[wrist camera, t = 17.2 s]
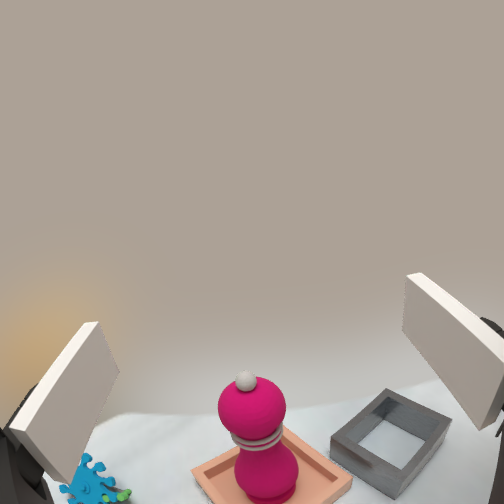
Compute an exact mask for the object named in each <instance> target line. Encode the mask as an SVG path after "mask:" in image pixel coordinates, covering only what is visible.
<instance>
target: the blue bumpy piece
mask: <svg viewBox="0 0 504 504" xmlns="http://www.w3.org/2000/svg"><path fill="white" fill-rule="evenodd" d="M91 461H92V457H91V456H90V455H89V454H87V453H83V455H82V457H81V464H80V466H78V467H77V470H76V472H75V475H74V477H73V480H72V482H71V485H70V484H68V486H69V488H70V489H69V488H68V487H67V486H66V485H64V484H63V485H59V489H60V492H61V493H70V494H73V495H74V496H75V497H76V499H74V498H71V499H68V500H67V501H68V503H69V504H78V503H79V502H83V503H84V504H101V502H102V503H103V504H110V503H109V501H111V502H116V501H124V500H126V499H128V497H129V496H128V494H130V493H131V490H130V489H127V490H124V491H123V490H120V489H118V488H115V487H112V486H115V485H116V482H115V479H114V477H108V478H104V477H103V478H102V477H99V476H98V475H97V473H96V471H98V472H102V471H105V470H106V467H105V465H104V464H103V463H102V462H98V463H96V464H95V466H94V467H93V468H92V469H89V468H88V467H87V462H91Z"/></svg>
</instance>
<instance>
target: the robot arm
mask: <svg viewBox="0 0 504 504" xmlns="http://www.w3.org/2000/svg"><path fill="white" fill-rule="evenodd" d="M402 331H403V332H404V334H405V335H406V336H407V337H408V339H409V340H410V341H411V342H412V344H413V345H414V346H415V347H416V349H417V350H418V351H419V352H420V354H421V355H422V356H423V357H424V359H425V360H426V361H427V362H428V364H429V365H430V366H431V367H432V369H433V370H434V371H435V373H436V374H437V375H438V376H439V378H440V379H441V380H442V382H443V383H444V384H445V385H446V387H447V388H448V389H449V391H450V392H451V393H452V395H453V396H454V397H455V399H456V400H457V401H458V403H459V404H460V405H461V407H462V408H463V410H464V411H465V412H466V414H467V415H468V416H469V418H470V419H471V421H472V422H473V423H474V425H475V426H476V428H477V429H478V430H481V429H483V428H485V427H487V426H488V425H490V424H492V423H494V422H495V421H496V419H497V417H498V415H499V413H500V411H501V409H502V410H503V411H504V331H503V330H502V328H501V327H499V326H498V325H497V324H496V323H494V322H493V321H490V320H488V319H486V318H483V317H481V318H478V317H477V316H476V315H474V314H473V313H472V312H471V311H470V310H468V309H467V308H466V307H465V306H464V305H462V304H461V303H460V302H459V301H457V300H456V299H455V298H453V297H452V296H451V295H450V294H448V293H447V292H446V291H444V290H443V289H442V288H441V287H439V286H438V285H437V284H435V283H434V282H433V281H431V280H430V279H428V278H427V277H426V276H425V275H423V274H422V273H421V272H420V273H415V274H411V275H406V283H405V301H404V314H403V326H402ZM119 372H120V371H119V369H118V367H117V365H116V363H115V360H114V358H113V356H112V353H111V351H110V349H109V346H108V344H107V341H106V339H105V336H104V334H103V331H102V329H101V326H100V324H99V322H88V323H84V324H83V326H82V327H81V328H80V329H79V331H78V332H77V333H76V334H75V336H74V337H73V338H72V339H71V341H70V342H69V343H68V345H67V346H66V347H65V349H64V350H63V351H62V353H61V354H60V355H59V356H58V358H57V360H55V362H54V363H53V364H52V366H51V367H50V368H49V370H48V371H47V373H46V374H45V375H44V377H43V378H42V380H41V381H40V382H39V383H38V384H37V385H35V386H34V387H33V388H32V389H31V390H30V391H29V392H28V394H27V395H26V396H25V398H24V400H23V401H22V402H21V404H20V407H18V408H17V410H16V411H15V412H14V414H13V415H12V417H11V418H10V420H9V422H8V423H7V424H6V426H5V427H4V429H3V430H2V429H1V428H0V504H54V502H53V499H52V496H51V493H50V491H49V488H48V485H47V483H46V481H45V479H44V478H43V477H42V476H43V473H44V471H45V472H46V473H47V474H48V475H49V476H50V477H51V478H52V479H53V480H54V481H58V482H62V483H66V484H70V485H71V482H72V480H73V477H74V475H75V472H76V470H77V467H78V465H79V462H80V460H81V457H82V455H83V453H84V450H85V448H86V445H87V443H88V441H89V438H90V436H91V434H92V431H93V429H94V427H95V424H96V422H97V420H98V418H99V415H100V413H101V411H102V409H103V406H104V404H105V402H106V400H107V397H108V395H109V393H110V391H111V389H112V387H113V385H114V383H115V381H116V379H117V376H118V374H119ZM501 431H502V437H501V444H500V451H499V457H498V463H497V468H496V473H495V478H494V483H493V487H492V491H491V496H490V499H489V503H488V504H504V420H503V422H502V424H501V426H500V428H499V429H498V431H497V434H496V436H495V437H498V436H499V434H500V433H501Z"/></svg>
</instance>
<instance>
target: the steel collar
mask: <svg viewBox="0 0 504 504" xmlns="http://www.w3.org/2000/svg"><path fill="white" fill-rule="evenodd" d="M383 419H385V420H387V421H388V422H390V423H392V424H394V425H396V426H398V427H400V428H402V429H403V430H405V431H407V432H409V433H411V434H413V435H415V436H417V437H419V438H421V439H423V440H425V441H426V442H425V443H424V445H423V446H422V447H421V448H420V450H419V451H418V452H417V453H416V454H415V455H414V457H413V458H412V459H411V460H410V461H409V462H408V464H407V465H406V466H405V467H404V468H403V469H402V470H400V469H398V468H396V467H395V466H393V465H391V464H390V463H388V462H386V461H384V460H383V459H381V458H379V457H378V456H376V455H374V454H373V453H371V452H369V451H368V450H366V449H365V448H363V447H361V446H360V445H358V444H357V443H359V442H360V441H361V440H362V439H363V438H364V437H365V436H366V435H367V434H368V433H370V432H371V431H372V430H373V429H374V428H375V427H376V426H377V425H378V424H379V423H380V422H381V421H382V420H383ZM451 422H452V419H451V418H448V417H446V416H444V415H442V414H440V413H437V412H435V411H433V410H431V409H429V408H426V407H424V406H422V405H420V404H418V403H416V402H414V401H411V400H409V399H407V398H405V397H403V396H401V395H399V394H397V393H395V392H393V391H391V390H389V389H387V388H386V389H385V390H384V391H383V392H382V393H380V394H379V395H378V396H377V397H376V398H375V399H374V400H373V401H372V402H371V403H370V404H369V405H367V406H366V407H365V408H364V409H363V410H362V411H361V412H360V413H358V414H357V415H356V416H355V417H354V418H353V419H352V420H350V421H349V422H348V423H347V424H346V425H344V426H343V427H342V428H341V429H340V430H338V431H337V432H336V433H335V434H333V435H332V436H331V441H330V458H331V459H333V460H334V461H336V462H337V463H338V464H340V465H341V466H343V467H344V468H346V469H347V470H349V471H350V472H351V473H353V474H354V475H356V476H357V477H359V478H360V479H362V480H363V481H365V482H367V483H368V484H370V485H371V486H373V487H374V488H376V489H377V490H379V491H381V492H382V493H384V494H385V495H387V496H389V497H390V498H392V499H394V500H395V499H396V498H397V497H398V496H399V495H400V494H401V492H402V491H403V490H404V489H405V488H406V487H407V486H408V485H409V484H410V482H411V481H412V480H413V479H414V478H415V477H416V475H417V474H418V473H419V472H420V471H421V469H422V468H423V467H424V466H425V465H426V463H427V462H428V461H429V459H430V458H431V457H432V456H433V454H434V453H435V452H436V450H437V449H438V448H439V446H440V445H441V444H442V442H443V440H444V438H445V436H446V434H447V431H448V429H449V426H450V424H451Z"/></svg>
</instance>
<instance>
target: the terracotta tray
mask: <svg viewBox="0 0 504 504" xmlns="http://www.w3.org/2000/svg"><path fill="white" fill-rule="evenodd" d="M280 440H281V442H282V443H283V444H284V445H285V446H286V447H287V448H289V449H290V450H291V452H292V453H293V454H294V456H295V457H296V460H297V463H298V467H299V474H298V478H297V480H296V489H295V492H294V494H293V495H292V497H291V498H290V499H289V500H287V501H286V502H284V503H282V504H332V503H333V502H334V501H336V500H337V499H338V498H339V497H341V496H342V495H343V494H344V493H345V492H346V491H348V490H349V489H350V488H351V485H352V480H353V477H352V476H351V475H350V474H348V473H347V472H345V471H344V470H342V469H341V468H339V467H338V466H337V465H335V464H334V463H332V462H331V461H330V460H328V459H327V458H325V457H324V456H323V455H321V454H320V453H319V452H317V451H316V450H315V449H313V448H312V447H311V446H309V445H308V444H307V443H305V442H304V441H303V440H302V439H300V438H299V437H298V436H296V435H295V434H294V433H293V432H291V431H290V430H289V429H288V428H286V427H285V426H284V425H283V434H282V437H281V438H280ZM239 453H240V447H239V446H236V447H234V448H233V449H231V450H229V451H227V452H225V453H223V454H222V455H220V456H218V457H216V458H214V459H212V460H210V461H208V462H206V463H204V464H202V465H200V466H198V467H196V468H194V469H192V470H191V472H192V474H193V476H194V477H195V479H196V481H197V482H198V484H199V485H200V486H201V488H202V489H203V490H204V492H205V493H206V494H207V496H208V497H209V498H210V499H211V501H212V502H213V503H214V504H255V503H253V502H252V501H251V500H250V499H249V498H248V497H247V495H246V493H245V491H243V490H242V489H241V488H240V487H239V485H238V484H237V482H236V478H235V474H234V466H235V461H236V459H237V457H238V455H239Z"/></svg>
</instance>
